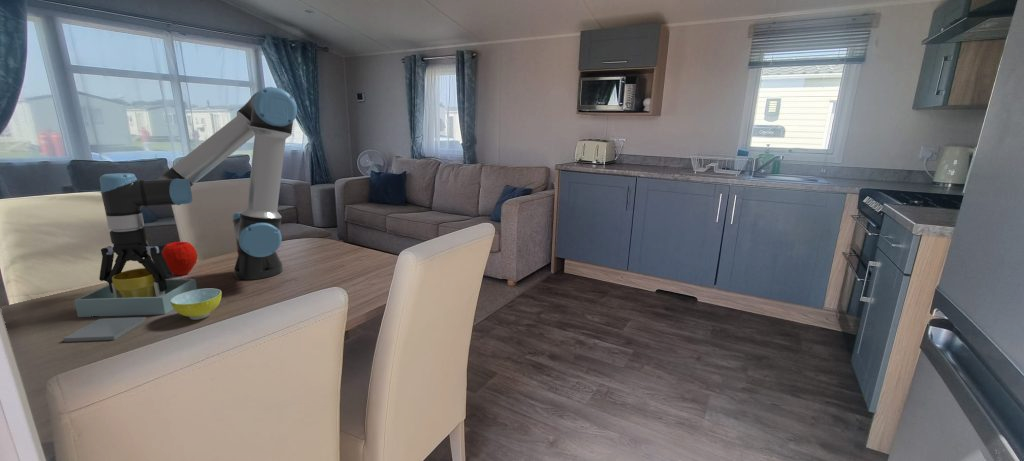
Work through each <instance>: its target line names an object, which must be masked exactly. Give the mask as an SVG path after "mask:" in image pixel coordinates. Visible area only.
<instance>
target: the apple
mask: <svg viewBox="0 0 1024 461" xmlns="http://www.w3.org/2000/svg"><path fill="white" fill-rule="evenodd" d="M197 253H198V252H197V250H196V248H195V247H194V246H193V244H192V243H190V242H187V241H178V240H176V241H173V242H170V243H167V244H166V245H164V247H163V248H162V249H161V254H162V256H163V257H164V259H165V261H166V263H167V265H168V267H169V269H170V271H171V273H172V275H175V276H186V275H187V274H189V273H191V271H192V269H193V268H194V267H195V266H196V264H197V261H198V254H197Z"/></svg>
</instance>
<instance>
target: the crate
mask: <svg viewBox="0 0 1024 461" xmlns="http://www.w3.org/2000/svg"><path fill="white" fill-rule="evenodd" d="M196 281H197V280H196V278H178V279H177V278H173V279H172V278H171V279H170V278H168V279H166V286H167V290H165V295H163V296H162V297H133V298H114V293H111V291H110V287H109V284H107V285H105V286H103V287H100V288H99V289H96V290H94V291H91V292H89V293H87V294H84V295H83V296H80V297H78V298H76V299H73V301H74V307H75V310H76V315H77V317H78V318H90V317H91V316H92V317H91V318H93V316H99V317H120V316H121V317H123V316H124V317H127V316H153V315H166V314H168V313H170V312H172V310H175V309H174V308H173V307H172V305H171V299H172V298H173V297H175V296H177V295H179V294H181V293H185V292H188V291H192V290H198V288H197V282H196Z"/></svg>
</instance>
